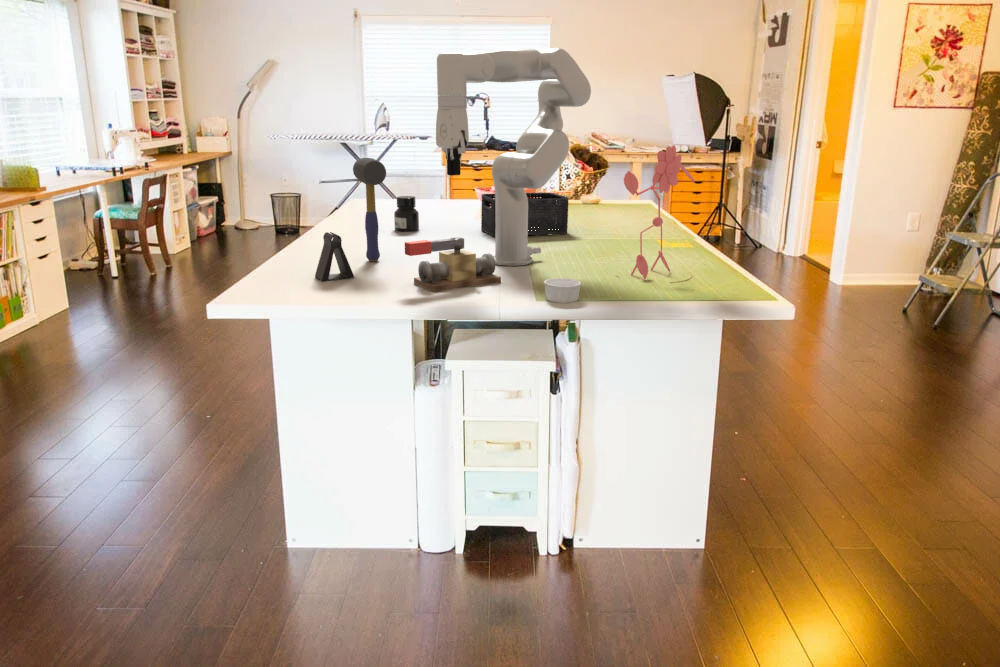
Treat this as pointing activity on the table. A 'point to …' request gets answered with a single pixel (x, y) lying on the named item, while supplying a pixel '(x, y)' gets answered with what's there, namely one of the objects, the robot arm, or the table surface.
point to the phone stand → (326, 260)
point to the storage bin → (532, 213)
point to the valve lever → (432, 246)
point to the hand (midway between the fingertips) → (453, 174)
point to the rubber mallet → (370, 200)
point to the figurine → (665, 177)
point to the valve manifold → (457, 271)
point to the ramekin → (562, 290)
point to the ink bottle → (406, 214)
